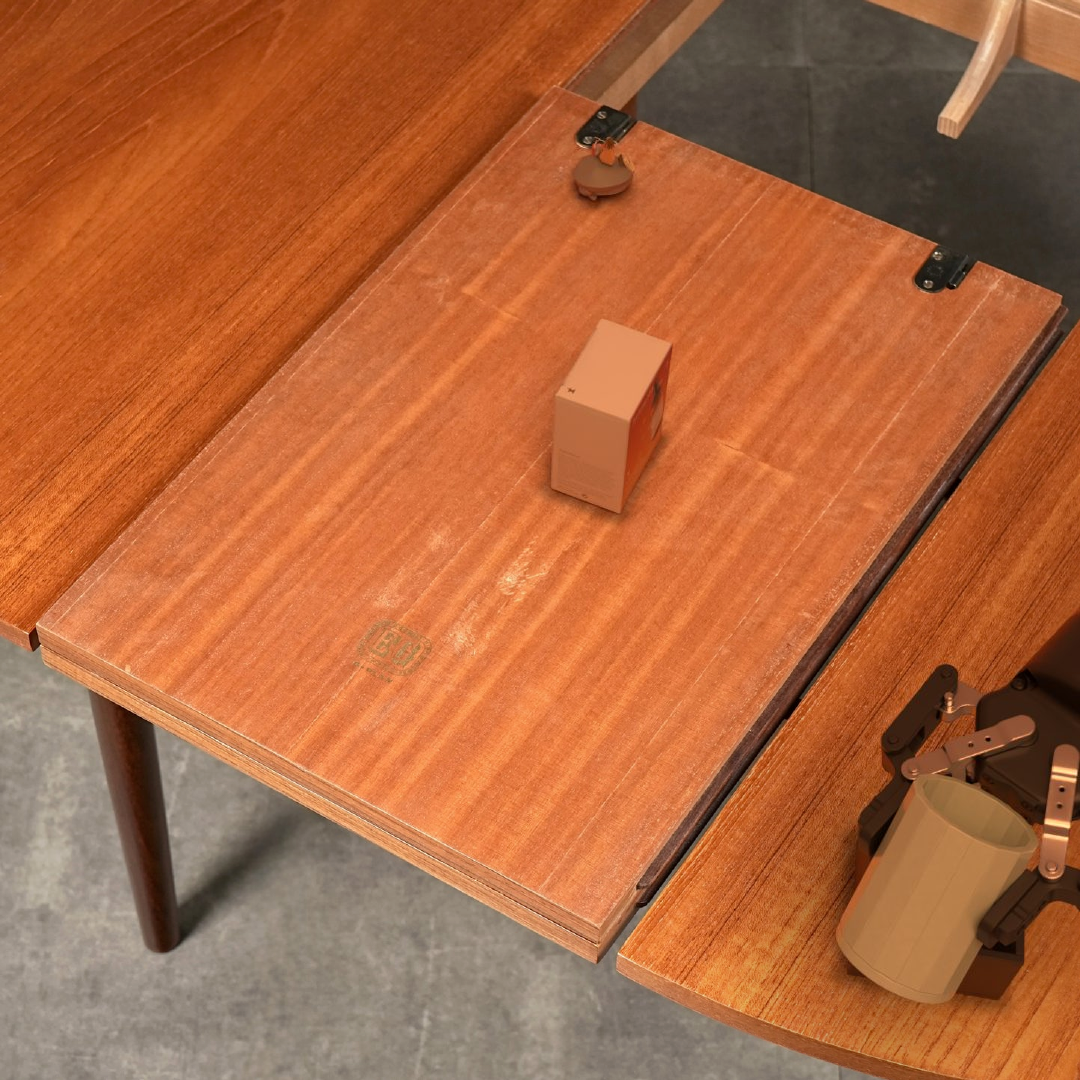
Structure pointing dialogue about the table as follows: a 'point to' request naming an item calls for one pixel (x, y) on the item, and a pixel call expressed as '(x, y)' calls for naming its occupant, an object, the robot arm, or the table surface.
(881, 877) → the tumbler
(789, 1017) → the table surface
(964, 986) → the basket
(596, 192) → the figurine
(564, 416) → the small box
